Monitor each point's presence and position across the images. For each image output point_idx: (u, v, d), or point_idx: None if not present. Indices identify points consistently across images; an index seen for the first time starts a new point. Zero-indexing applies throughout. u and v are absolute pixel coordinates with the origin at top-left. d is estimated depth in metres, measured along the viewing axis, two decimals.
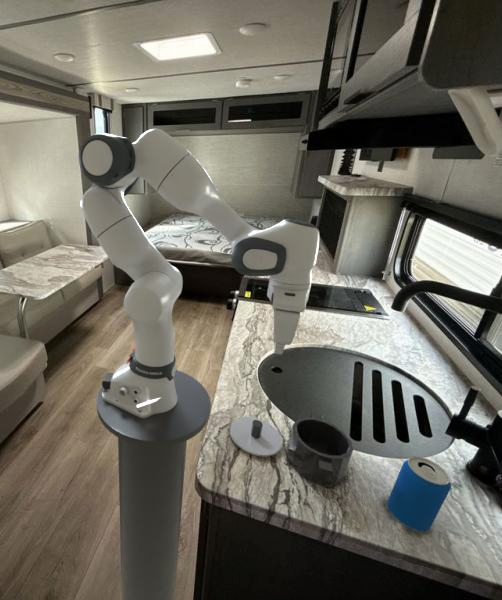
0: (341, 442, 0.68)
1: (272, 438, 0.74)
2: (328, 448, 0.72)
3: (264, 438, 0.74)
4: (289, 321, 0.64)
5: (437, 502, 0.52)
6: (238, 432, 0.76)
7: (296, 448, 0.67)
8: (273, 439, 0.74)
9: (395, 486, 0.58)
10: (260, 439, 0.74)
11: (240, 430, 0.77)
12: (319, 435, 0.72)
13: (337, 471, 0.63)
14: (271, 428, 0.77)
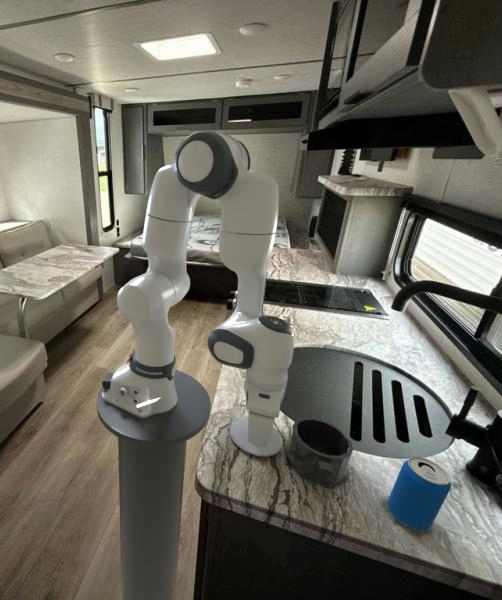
0: (341, 442, 0.68)
1: (272, 438, 0.74)
2: (328, 448, 0.72)
3: None
4: (263, 426, 0.63)
5: (437, 502, 0.52)
6: (238, 432, 0.76)
7: (296, 448, 0.67)
8: (273, 439, 0.74)
9: (395, 486, 0.58)
10: None
11: (240, 430, 0.77)
12: (319, 435, 0.72)
13: (337, 471, 0.63)
14: None
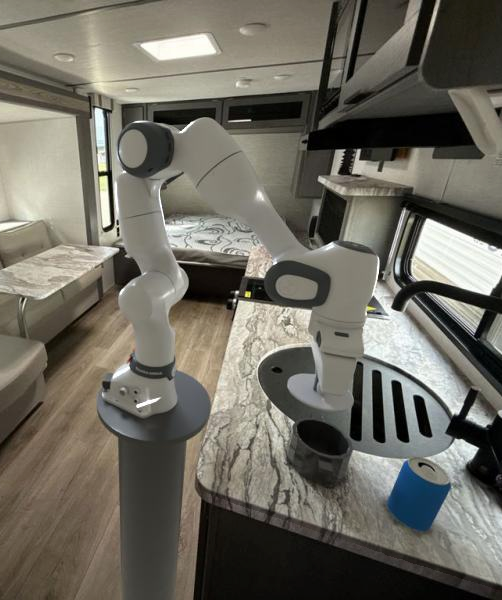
0: (341, 442, 0.68)
1: None
2: (328, 448, 0.72)
3: None
4: (343, 369, 0.52)
5: (437, 502, 0.52)
6: (298, 388, 0.65)
7: (296, 448, 0.67)
8: None
9: (395, 486, 0.58)
10: (326, 394, 0.63)
11: (300, 386, 0.65)
12: (319, 435, 0.72)
13: (337, 471, 0.63)
14: None
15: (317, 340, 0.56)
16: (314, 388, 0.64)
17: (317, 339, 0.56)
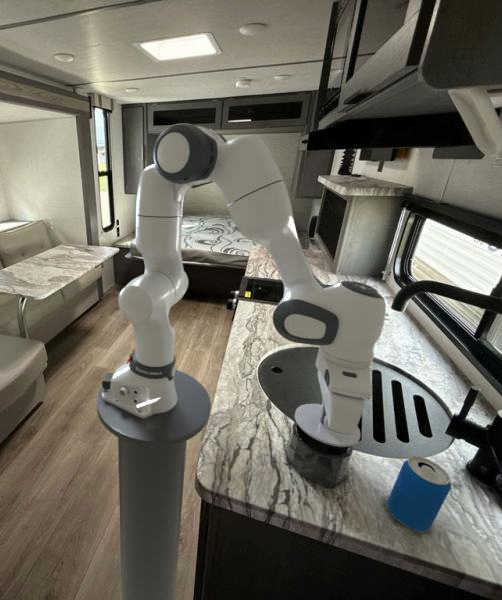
0: None
1: None
2: (328, 448, 0.72)
3: None
4: (351, 410, 0.53)
5: (437, 502, 0.52)
6: (306, 420, 0.66)
7: (296, 448, 0.67)
8: None
9: (395, 486, 0.58)
10: None
11: (307, 418, 0.67)
12: None
13: (337, 471, 0.63)
14: None
15: (325, 378, 0.57)
16: (321, 420, 0.65)
17: (325, 377, 0.57)
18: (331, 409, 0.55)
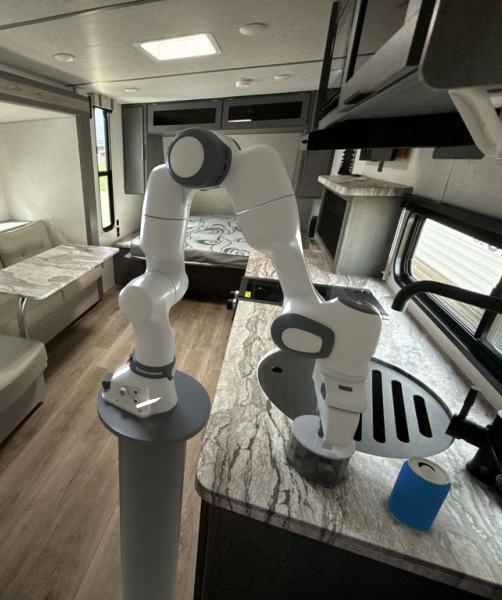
0: None
1: None
2: None
3: None
4: (346, 423, 0.54)
5: (437, 502, 0.52)
6: (302, 432, 0.67)
7: (296, 448, 0.67)
8: None
9: (395, 486, 0.58)
10: None
11: (304, 430, 0.68)
12: None
13: (337, 471, 0.63)
14: None
15: (322, 391, 0.58)
16: (318, 433, 0.67)
17: (322, 390, 0.59)
18: (327, 422, 0.56)
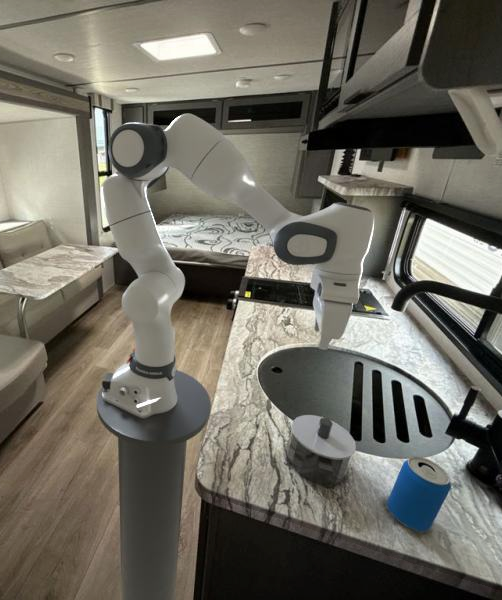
0: None
1: (342, 438, 0.66)
2: None
3: (333, 438, 0.66)
4: (340, 313, 0.59)
5: (437, 502, 0.52)
6: (302, 432, 0.67)
7: (296, 448, 0.67)
8: (344, 439, 0.65)
9: (395, 486, 0.58)
10: (329, 439, 0.65)
11: (304, 430, 0.68)
12: None
13: (337, 471, 0.63)
14: (338, 427, 0.69)
15: (318, 291, 0.63)
16: (318, 433, 0.67)
17: (318, 290, 0.63)
18: (322, 315, 0.61)
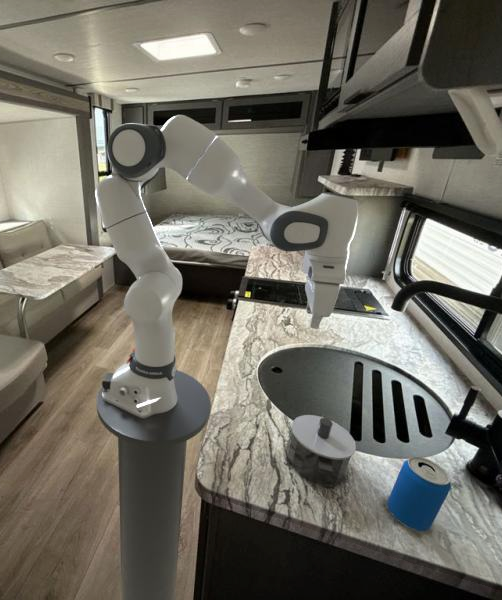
0: None
1: (342, 438, 0.66)
2: None
3: (333, 438, 0.66)
4: (329, 293, 0.65)
5: (437, 502, 0.52)
6: (302, 432, 0.67)
7: (296, 448, 0.67)
8: (344, 439, 0.65)
9: (395, 486, 0.58)
10: (329, 439, 0.65)
11: (304, 430, 0.68)
12: None
13: (337, 471, 0.63)
14: (338, 427, 0.69)
15: (309, 274, 0.69)
16: (318, 433, 0.67)
17: (309, 273, 0.69)
18: (313, 295, 0.66)
